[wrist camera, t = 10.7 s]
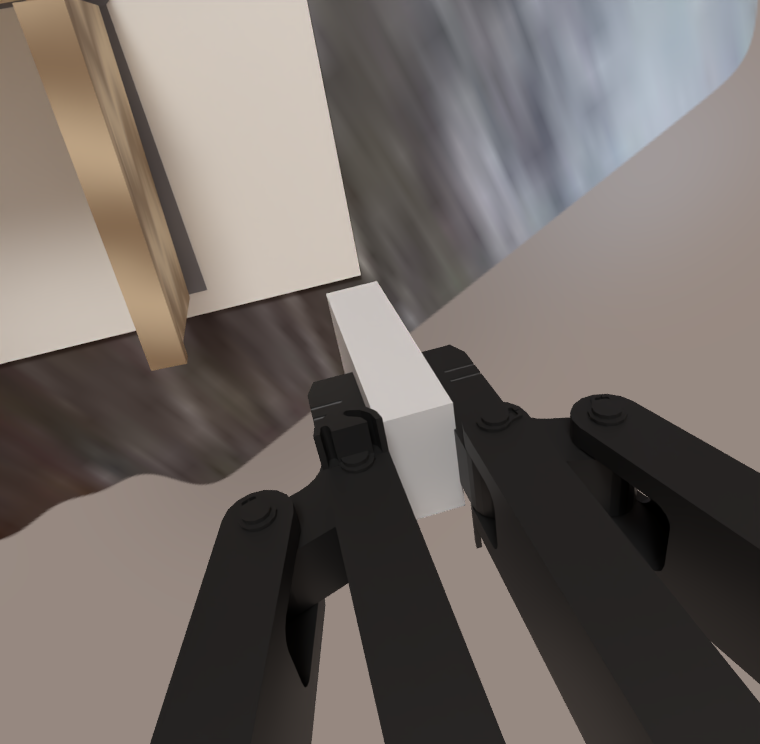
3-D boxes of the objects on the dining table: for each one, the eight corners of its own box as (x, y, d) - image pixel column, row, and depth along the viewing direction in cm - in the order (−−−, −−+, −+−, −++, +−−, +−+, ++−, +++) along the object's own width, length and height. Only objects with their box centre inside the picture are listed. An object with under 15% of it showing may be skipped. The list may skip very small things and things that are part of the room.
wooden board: (45, -50, 27) (-25, -86, 20) (88, -55, 27) (35, -92, 20) (165, 305, 37) (149, 371, 29) (197, 299, 37) (188, 362, 30)
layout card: (-43, 372, 37) (-45, 375, 37) (-316, -41, 25) (-323, -42, 25) (359, 273, 40) (361, 275, 39) (278, -138, 28) (279, -140, 28)
